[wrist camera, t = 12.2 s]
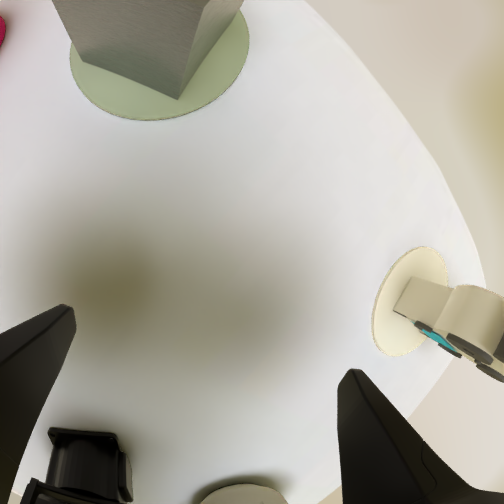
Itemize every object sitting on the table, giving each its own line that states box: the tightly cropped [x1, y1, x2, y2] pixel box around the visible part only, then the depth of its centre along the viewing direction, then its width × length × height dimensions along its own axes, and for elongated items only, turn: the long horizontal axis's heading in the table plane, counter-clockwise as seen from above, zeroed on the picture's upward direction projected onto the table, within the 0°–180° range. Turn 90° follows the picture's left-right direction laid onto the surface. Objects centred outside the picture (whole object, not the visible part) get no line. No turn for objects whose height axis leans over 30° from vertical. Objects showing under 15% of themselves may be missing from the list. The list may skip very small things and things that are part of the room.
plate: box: [70, 10, 249, 120], centre depth 14 cm, size 12×12×1 cm
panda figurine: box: [371, 247, 504, 383], centre depth 19 cm, size 12×11×15 cm
